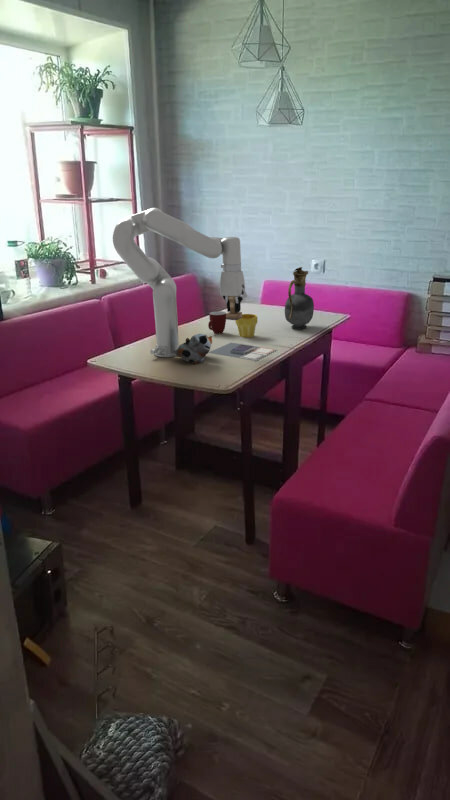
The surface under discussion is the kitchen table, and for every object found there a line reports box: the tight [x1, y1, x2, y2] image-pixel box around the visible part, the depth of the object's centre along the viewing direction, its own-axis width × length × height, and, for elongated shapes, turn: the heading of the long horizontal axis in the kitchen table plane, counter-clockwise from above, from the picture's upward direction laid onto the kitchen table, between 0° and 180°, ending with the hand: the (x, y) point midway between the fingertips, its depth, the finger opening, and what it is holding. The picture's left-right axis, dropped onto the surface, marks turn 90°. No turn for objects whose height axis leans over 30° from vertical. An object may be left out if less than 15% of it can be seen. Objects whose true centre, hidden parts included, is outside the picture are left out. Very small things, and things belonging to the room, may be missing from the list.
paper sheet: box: [239, 346, 277, 361], centre depth 252 cm, size 17×8×1 cm, turn 146°
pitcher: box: [284, 266, 315, 331], centre depth 286 cm, size 11×19×30 cm, turn 147°
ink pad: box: [230, 343, 255, 355], centre depth 256 cm, size 9×7×2 cm
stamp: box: [226, 296, 243, 321], centre depth 252 cm, size 5×5×11 cm
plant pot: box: [234, 313, 258, 339], centre depth 279 cm, size 10×10×10 cm
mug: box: [208, 310, 227, 335], centre depth 284 cm, size 10×8×10 cm
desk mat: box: [208, 342, 277, 363], centre depth 256 cm, size 18×24×1 cm
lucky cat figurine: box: [174, 333, 213, 365], centre depth 246 cm, size 15×12×14 cm
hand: (233, 311), depth 252 cm, fingers closed on stamp, 3 cm apart
